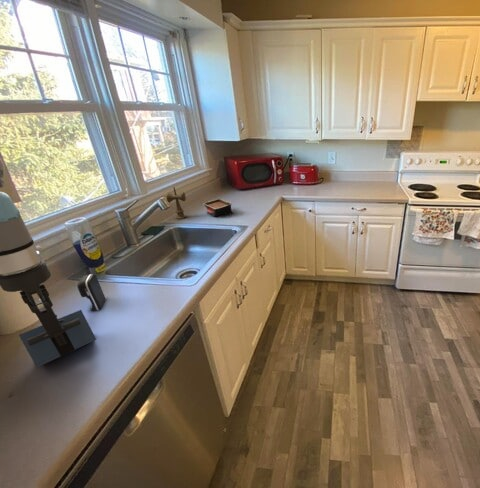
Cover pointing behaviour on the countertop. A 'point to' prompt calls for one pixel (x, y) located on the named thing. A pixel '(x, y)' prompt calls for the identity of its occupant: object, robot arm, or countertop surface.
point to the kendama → (177, 202)
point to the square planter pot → (218, 207)
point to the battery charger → (92, 291)
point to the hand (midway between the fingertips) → (66, 350)
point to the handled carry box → (43, 347)
